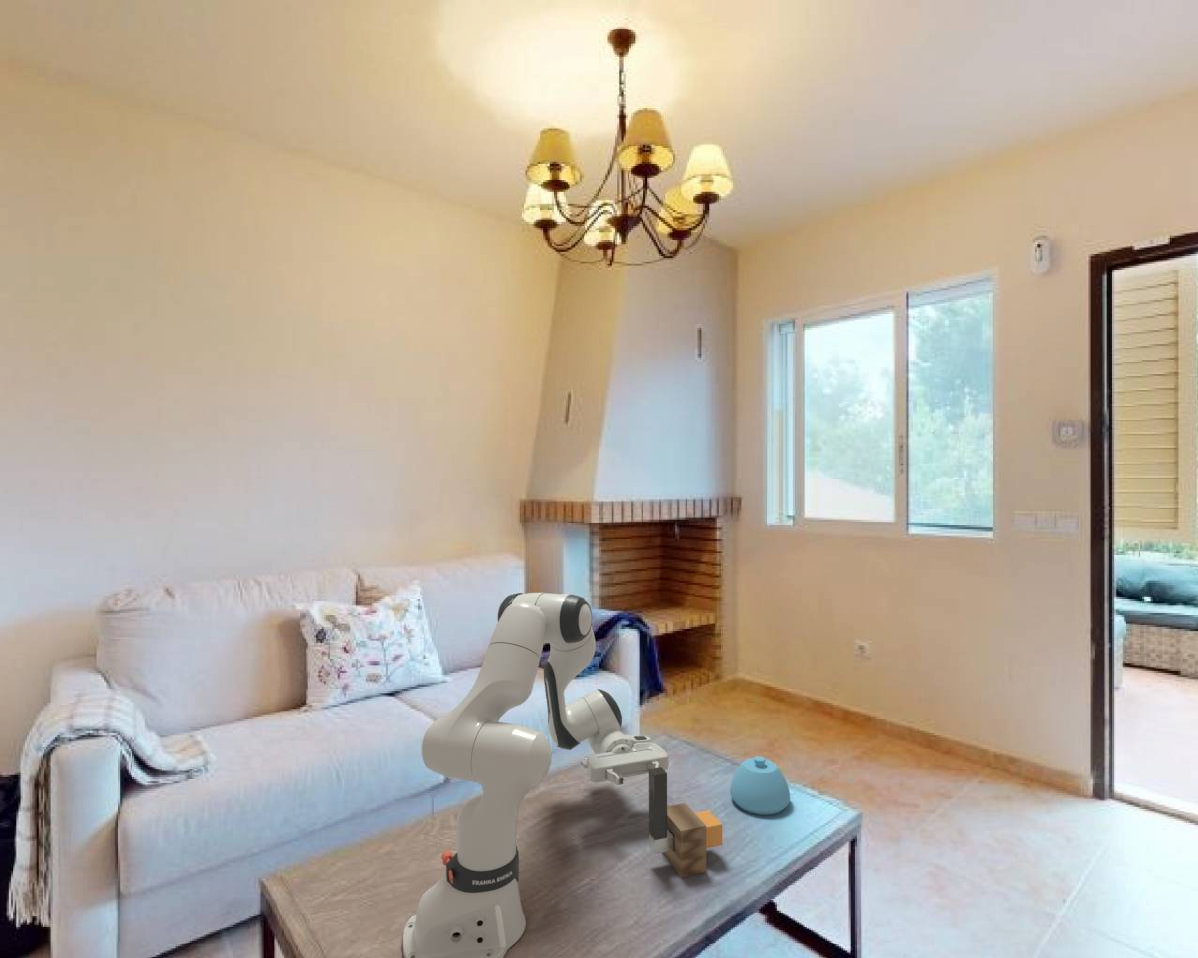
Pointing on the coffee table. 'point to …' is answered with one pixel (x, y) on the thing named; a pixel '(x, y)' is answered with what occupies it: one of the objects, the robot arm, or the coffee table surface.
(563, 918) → the coffee table surface
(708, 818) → the block
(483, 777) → the robot arm
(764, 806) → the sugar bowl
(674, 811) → the bearing block
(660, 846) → the grey l-shaped piece
